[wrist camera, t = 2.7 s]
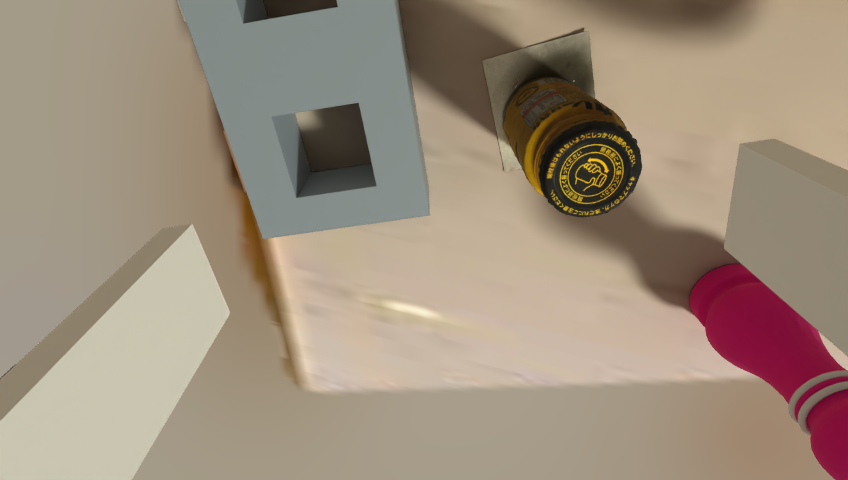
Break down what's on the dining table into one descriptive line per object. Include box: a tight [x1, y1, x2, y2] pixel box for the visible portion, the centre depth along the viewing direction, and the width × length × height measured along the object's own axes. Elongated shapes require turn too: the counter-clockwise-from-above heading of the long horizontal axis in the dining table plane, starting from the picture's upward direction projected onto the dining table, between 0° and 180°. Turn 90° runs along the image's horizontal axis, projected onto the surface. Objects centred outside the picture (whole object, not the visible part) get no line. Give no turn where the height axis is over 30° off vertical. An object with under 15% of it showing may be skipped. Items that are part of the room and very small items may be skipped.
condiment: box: [482, 31, 642, 217], centre depth 29 cm, size 7×8×12 cm
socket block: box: [176, 0, 430, 239], centre depth 31 cm, size 22×13×5 cm, turn 9°
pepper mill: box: [689, 264, 848, 480], centre depth 34 cm, size 7×7×20 cm
